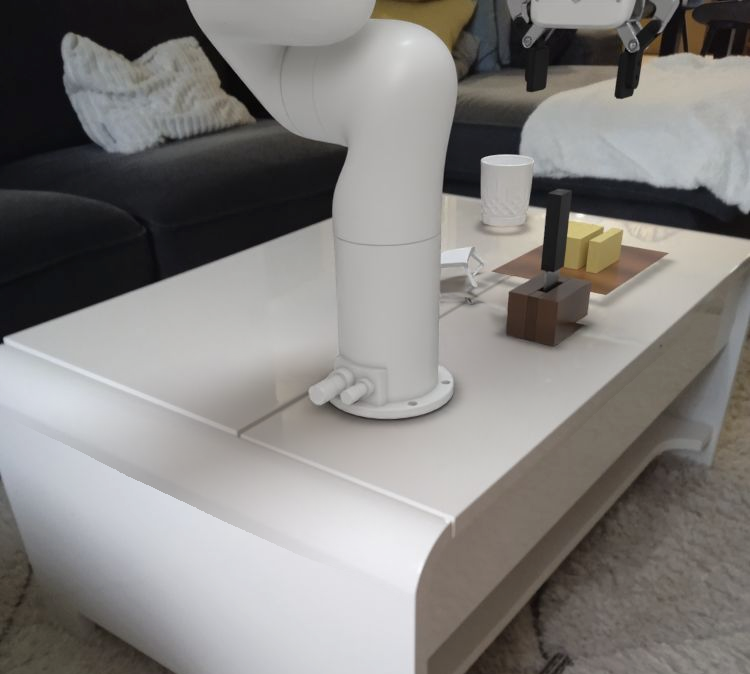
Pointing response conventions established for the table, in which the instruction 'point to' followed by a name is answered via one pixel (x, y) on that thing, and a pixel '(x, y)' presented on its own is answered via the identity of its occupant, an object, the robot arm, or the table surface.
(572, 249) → the butter block
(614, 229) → the butter slice
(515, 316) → the knife block
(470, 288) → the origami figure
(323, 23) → the robot arm
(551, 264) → the knife
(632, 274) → the butter board
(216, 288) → the table surface
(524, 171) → the white cup
